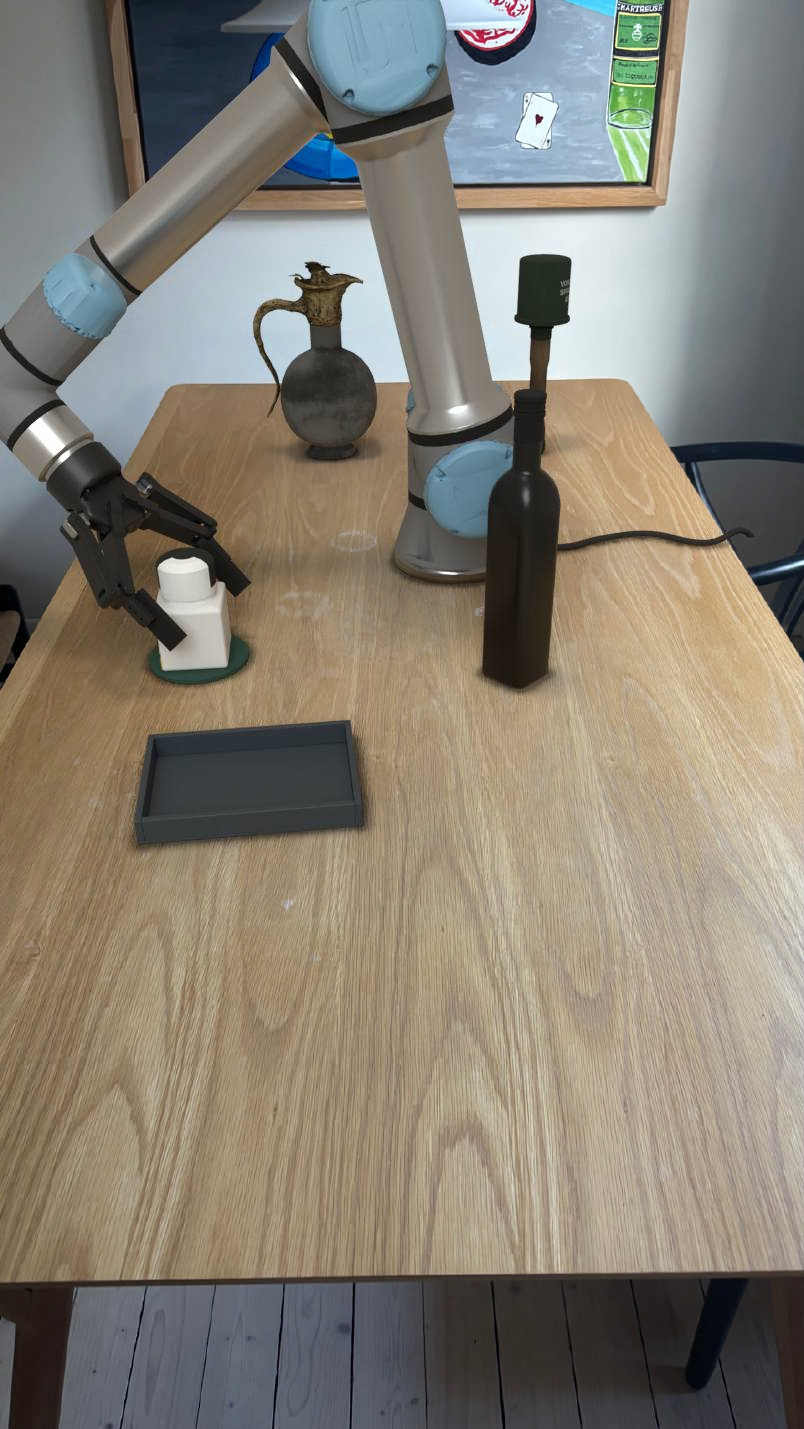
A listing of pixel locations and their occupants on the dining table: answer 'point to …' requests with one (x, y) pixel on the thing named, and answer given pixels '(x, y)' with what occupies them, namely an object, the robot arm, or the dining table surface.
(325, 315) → the pitcher
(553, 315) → the stick grenade
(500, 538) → the wine bottle
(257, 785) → the tray
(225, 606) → the medicine bottle
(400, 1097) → the dining table surface
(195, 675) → the coaster
